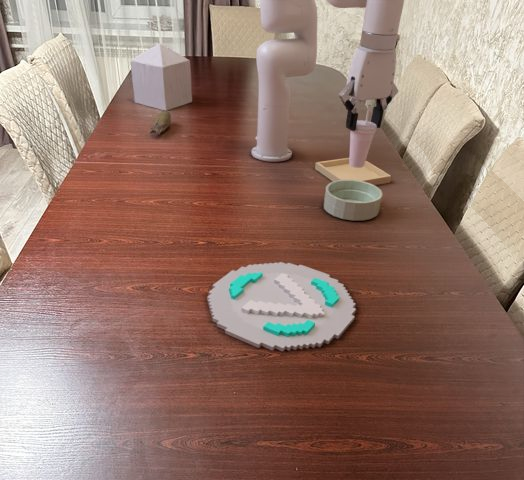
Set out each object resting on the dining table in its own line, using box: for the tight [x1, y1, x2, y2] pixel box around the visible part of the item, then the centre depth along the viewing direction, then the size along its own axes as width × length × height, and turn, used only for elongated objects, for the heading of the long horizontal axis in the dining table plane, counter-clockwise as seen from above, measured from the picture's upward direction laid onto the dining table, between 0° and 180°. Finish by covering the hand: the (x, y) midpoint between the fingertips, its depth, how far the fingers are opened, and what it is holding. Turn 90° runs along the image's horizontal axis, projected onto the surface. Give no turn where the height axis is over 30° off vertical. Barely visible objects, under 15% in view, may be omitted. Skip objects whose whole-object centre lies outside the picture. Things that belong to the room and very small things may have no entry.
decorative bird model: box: [148, 110, 172, 136], centre depth 175 cm, size 5×20×5 cm, turn 175°
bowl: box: [323, 180, 384, 221], centre depth 135 cm, size 14×15×5 cm
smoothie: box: [348, 104, 378, 168], centre depth 125 cm, size 6×6×14 cm
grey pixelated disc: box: [206, 261, 357, 352], centre depth 101 cm, size 28×28×2 cm
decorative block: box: [130, 43, 193, 111], centre depth 196 cm, size 16×16×20 cm
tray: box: [314, 157, 392, 186], centre depth 153 cm, size 17×16×2 cm
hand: (363, 127), depth 123 cm, fingers closed on smoothie, 6 cm apart
